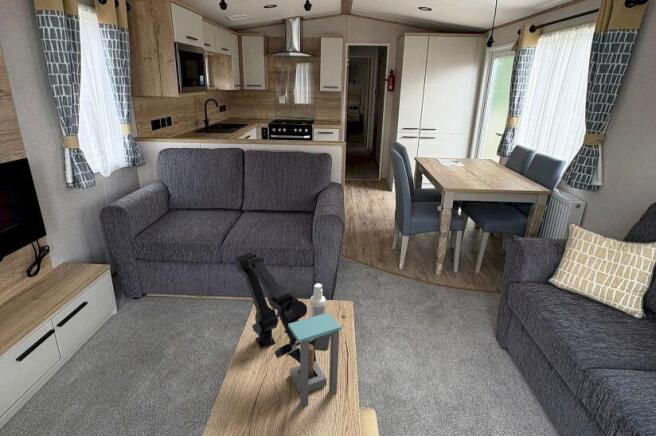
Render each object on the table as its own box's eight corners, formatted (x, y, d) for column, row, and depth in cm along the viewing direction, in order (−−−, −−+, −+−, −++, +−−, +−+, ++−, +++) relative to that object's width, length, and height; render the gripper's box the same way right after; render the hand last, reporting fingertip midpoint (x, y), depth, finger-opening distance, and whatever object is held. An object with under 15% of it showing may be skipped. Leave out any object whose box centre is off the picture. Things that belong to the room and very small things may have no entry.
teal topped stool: (289, 387, 135) (288, 323, 125) (326, 374, 141) (328, 312, 132) (300, 407, 127) (299, 340, 117) (339, 392, 133) (342, 327, 124)
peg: (300, 378, 137) (300, 349, 132) (306, 371, 140) (306, 342, 136) (309, 382, 135) (310, 353, 131) (315, 375, 139) (316, 346, 134)
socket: (290, 375, 140) (289, 368, 139) (314, 366, 145) (314, 360, 144) (300, 394, 132) (300, 387, 131) (326, 384, 136) (326, 378, 135)
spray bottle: (319, 326, 168) (320, 291, 161) (307, 321, 171) (307, 286, 165) (327, 318, 173) (328, 284, 167) (315, 313, 177) (315, 279, 170)
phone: (309, 347, 154) (315, 325, 168) (309, 349, 154) (315, 326, 168) (327, 350, 153) (332, 326, 167) (327, 351, 153) (332, 328, 167)
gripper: (279, 328, 126) (299, 373, 123) (321, 307, 138) (341, 348, 135) (266, 336, 134) (285, 378, 131) (307, 316, 146) (325, 354, 143)
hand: (310, 364), depth 135 cm, fingers closed on peg, 4 cm apart
